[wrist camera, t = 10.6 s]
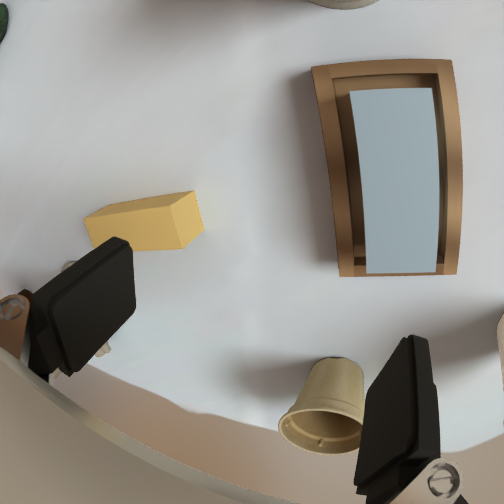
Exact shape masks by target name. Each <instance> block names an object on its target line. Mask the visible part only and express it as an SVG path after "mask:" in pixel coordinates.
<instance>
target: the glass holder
mask: <svg viewBox="0 0 504 504" xmlns="http://www.w3.org/2000/svg"><path fill="white" fill-rule="evenodd" d="M309 1H311V2H313V3H315V4H318V5H321V6H324V7H328V8H333V9H356V8H362V7H365V6H368V5H371V4H373V3H375V2H377V1H379V0H309Z"/></svg>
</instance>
